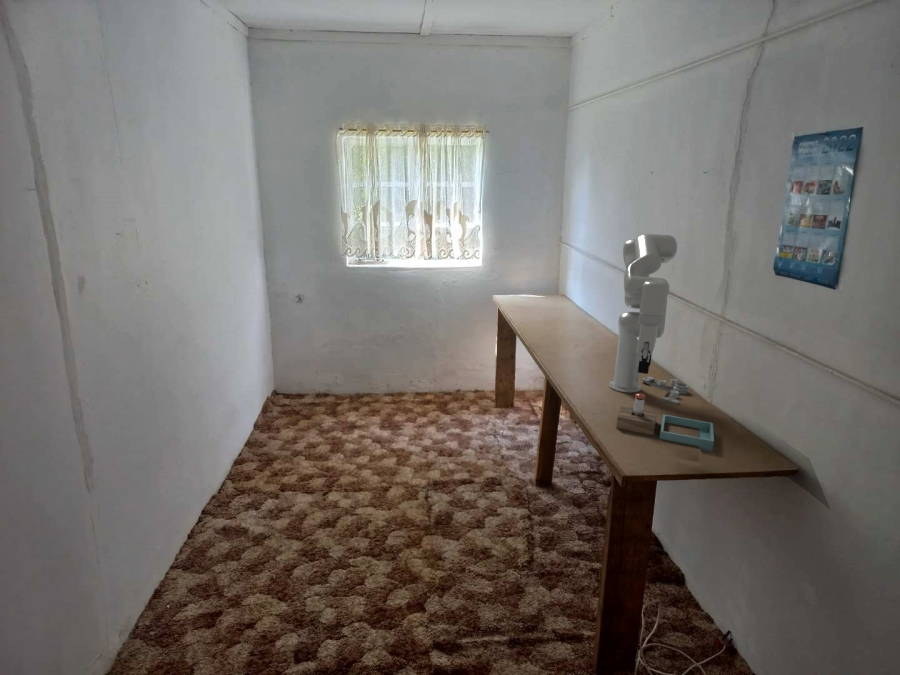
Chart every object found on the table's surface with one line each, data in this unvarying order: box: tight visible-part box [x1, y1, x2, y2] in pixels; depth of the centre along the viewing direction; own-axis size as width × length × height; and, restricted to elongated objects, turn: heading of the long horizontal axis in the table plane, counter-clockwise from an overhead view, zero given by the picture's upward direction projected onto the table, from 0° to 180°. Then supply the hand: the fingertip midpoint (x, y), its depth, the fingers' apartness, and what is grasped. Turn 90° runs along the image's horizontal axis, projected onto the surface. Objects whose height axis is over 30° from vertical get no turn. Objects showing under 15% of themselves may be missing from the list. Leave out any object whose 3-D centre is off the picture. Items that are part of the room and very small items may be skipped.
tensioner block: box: [615, 404, 658, 436], centre depth 199 cm, size 12×12×5 cm
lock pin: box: [633, 392, 646, 417], centre depth 198 cm, size 3×3×11 cm
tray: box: [659, 414, 715, 452], centre depth 194 cm, size 16×16×4 cm
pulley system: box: [641, 376, 689, 405], centre depth 236 cm, size 27×5×15 cm
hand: (644, 369), depth 194 cm, fingers open, 9 cm apart
